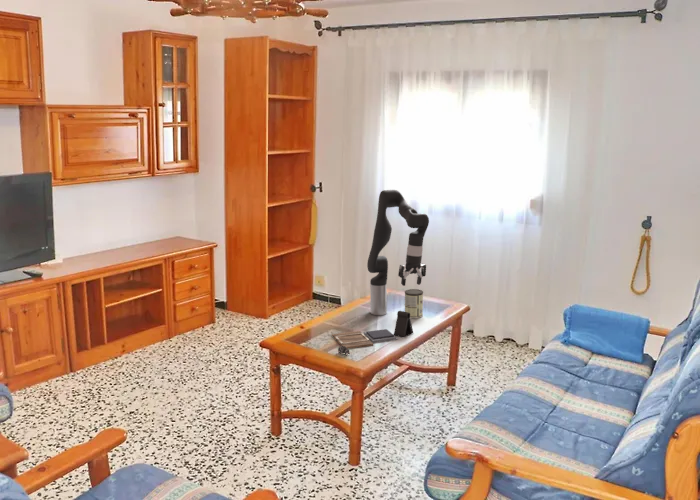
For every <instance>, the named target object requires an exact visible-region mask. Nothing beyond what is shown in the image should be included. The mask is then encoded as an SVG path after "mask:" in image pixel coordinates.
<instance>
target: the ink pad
mask: <svg viewBox="0 0 700 500" xmlns="http://www.w3.org/2000/svg"><path fill="white" fill-rule="evenodd" d="M363 334H364V335H365V336H366V337H367V338H368V339H369V340H370V341H371V342H372V343H373V344H374V343H381V342H382V343H384V342H389V341H390V342H391V341H397V340H398V336H395V335H394V333H392V332H391V331H390V330H389V329H387V328H385V329H377V330H368V331H364V332H363Z"/></svg>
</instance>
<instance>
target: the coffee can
mask: <svg viewBox="0 0 700 500" xmlns="http://www.w3.org/2000/svg"><path fill="white" fill-rule="evenodd" d="M423 297H424V290H423V289H422V290H421V289H416V288H410V289H406V290H404V312H408V313H410V319H420V318H422V317H423V315H424V314H423V313H424V312H423V311H424V308H423V306H424V298H423Z"/></svg>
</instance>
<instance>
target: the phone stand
mask: <svg viewBox="0 0 700 500" xmlns="http://www.w3.org/2000/svg"><path fill="white" fill-rule="evenodd" d="M396 313H397V314H396V315H397V318H396V323H395V327H394V332H393V335H394V336H396V337H400V338H406V337H408V336H410V335H413V334H414V329H413V325H412V321H411V318H410V313H408V312H405V311H402V310H398V311H397V312H396ZM412 333H413V334H412Z"/></svg>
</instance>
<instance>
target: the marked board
mask: <svg viewBox="0 0 700 500" xmlns="http://www.w3.org/2000/svg"><path fill="white" fill-rule="evenodd" d="M331 336H333V337H334V338H335V339H336V340H337V341H336V340H335V339H334V338H333V337H332V338H333V339H334V340H335V341H336V343H338V344H339V345H340V347H341V346H345V347H347V349H348V348H350V349H356V347H358V348H364V347H372V346H374V343H372V342H371V341H370V340H369V339H368V338H367V337H366V336H365V335H364V332H361V330H356V331H347V332H338V333H332V334H331Z"/></svg>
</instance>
